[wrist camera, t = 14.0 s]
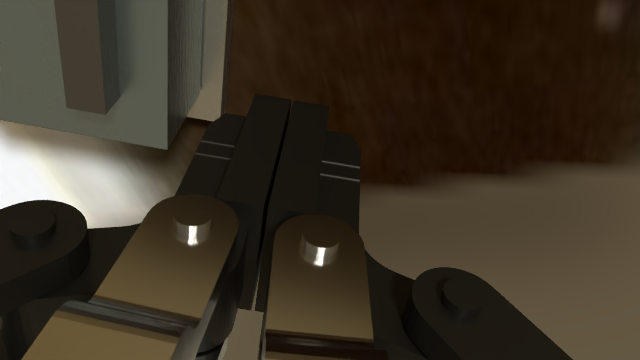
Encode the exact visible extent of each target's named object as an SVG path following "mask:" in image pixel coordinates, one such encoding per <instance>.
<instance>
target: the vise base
mask: <svg viewBox="0 0 640 360" xmlns="http://www.w3.org/2000/svg"><path fill="white" fill-rule="evenodd" d="M233 13H234V0H203V24H202V50H201V76H200V94H199V96H198V98H197V99H196V101H195V103H194V105H193V106H192V108H191V110H190V112H189V113H188V115H187V117H192V118H197V119H203V120H208V121H215V120H216V119H218V118H219V117H221V116H222V115H224V113H225V111H226V109H227V98H228V84H229V69H230V55H231V41H232V27H233Z"/></svg>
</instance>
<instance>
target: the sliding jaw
mask: <svg viewBox="0 0 640 360" xmlns="http://www.w3.org/2000/svg"><path fill="white" fill-rule="evenodd" d="M202 24H203V0H0V120H4V121H10V122H15V123H21V124H26V125H32V126H38V127H43V128H49V129H54V130H60V131H65V132H71V133H76V134H82V135H88V136H93V137H99V138H104V139H110V140H115V141H121V142H126V143H132V144H137V145H143V146H149V147H154V148H160V149H165V150H168V148H169V146H170V145H171V143H172V141H173V139H174V138H175V136H176V134H177V132H178V131H179V129H180V127H181V125H182V124H183V122H184V120H185V118H186V117H187V115H188V113H189V112H190V110H191V108H192V106H193V105H194V103H195V101H196V99H197V98H198V96H199V94H200V76H201V50H202Z"/></svg>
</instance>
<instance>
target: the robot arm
mask: <svg viewBox="0 0 640 360" xmlns="http://www.w3.org/2000/svg"><path fill="white" fill-rule="evenodd" d="M290 107H291V100H289V99H283V98H277V97H271V96H265V95H260V94H255V96H254V98H253V101H252V104H251V106H250V109H249V112H248V115H247V117H245V116H239V115H233V114H227V113H225V114H224V115H222V116H221V117H219V118H218V119H216V120H215V121H213V122H212V123H210V124H209V125H208V127H207V129H206V132H205V134H204V136H203V138H202V142H200V144H199V146H198V148H197V151H196V155H194V157H193V159H192V161H191V163H190V165H189V167H188V169H187V172H186V174H185V176H184V178H183V180H182V182H181V184H180V186H179V188H178V190H177V193H176V195H175V196H173V197H170V198H167V199H165V200H162V201H161V202H159V203H157V204H156V205H155V206H154V207H152V208H151V210H150V211H149V212H148V213H147V215H146V216H145V218H144V220H143V221H142V223H139V224H135V225H131V226H123V227H110V228H93V229H87V222H86V219H85V217H84V216H83V214H82V213H81V212H80V211H79V210H77V209H76V208H75V207H73V206H71V205H68V204H66V203H63V202H58V201H51V200H34V201H27V202H22V203H18V204H14V205H11V206H8V207H6V208H3V209H0V360H223V358H224V355H225V352H226V349H227V346H228V338H229V334H230V332H231V331H232V328H233V325H234V321H235V317H236V313H237V309H238V308H240V309H246V310H251V308H252V304H253V299H254V295H255V291H256V286H257V282H258V277H259V283H258V290H257V298H256V306H255V311H260V312H264V315H263V322H262V329H261V335H260V343H259V350H258V358H257V360H573V359H572V358H570V357H569V356H568V355H567V354H566V353H565V352H564V351H563V350H562V349H561V348H559V347H558V346H557V345H556V344H555V343H554V342H553V341H552V340H551V339H550V338H548V337H547V336H546V335H545V334H544V333H543V332H542V331H541V330H539V329H538V328H537V327H536V326H535V325H534V324H533V323H532V322H531V321H530V320H528V319H527V318H526V317H525V316H524V315H523V314H522V313H521V312H520V311H518V310H517V309H516V308H515V307H514V306H513V305H512V304H511V303H509V301H507V300H506V299H505V298H504V297H503V296H502V295H501V294H500V293H499V292H498V291H496V290H495V289H494V288H493V287H492V286H491V285H489V284H488V283H487V282H485V281H484V280H482V279H481V278H479V277H478V276H476V275H474V274H471V273H469V272H466V271H463V270H460V269H456V268H449V267H439V268H433V269H430V270H427V271H425V272H423V273H422V274H420V275H419V276H418V277H417V278H416V280H413V279H410V278H408V277H405V276H403V275H401V274H398V273H396V272H394V271H392V270H390V269H388V268H385V267H384V266H382V265H381V264H379V263H378V262H377V261H376V260H374V259H373V258H372V257H371V256H370V255H369V254H368V253H367V251H366V250H365V247H364V243H363V241H362V239H361V237H360V236H359V199H360V159H361V150H360V148H359V147H358V145H357V143H356V142H355V140H354V139H353V137H352V136H351V134H345V133H339V132H333V131H327V130H326V127H327V119H328V111H329V106H324V105H318V104H313V103H307V102H301V101H295V100H294V102H293V106H292V110H291V114H290ZM289 115H290V119H289ZM288 122H289V123H288ZM259 273H260V275H259Z"/></svg>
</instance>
